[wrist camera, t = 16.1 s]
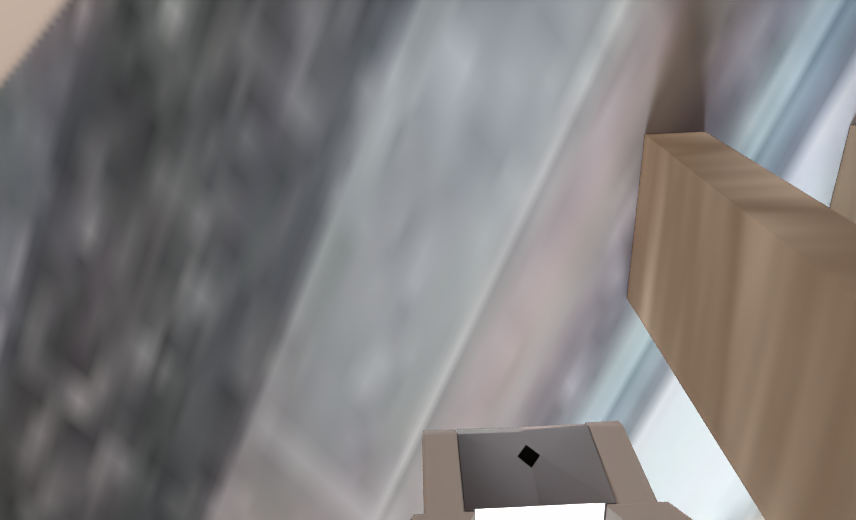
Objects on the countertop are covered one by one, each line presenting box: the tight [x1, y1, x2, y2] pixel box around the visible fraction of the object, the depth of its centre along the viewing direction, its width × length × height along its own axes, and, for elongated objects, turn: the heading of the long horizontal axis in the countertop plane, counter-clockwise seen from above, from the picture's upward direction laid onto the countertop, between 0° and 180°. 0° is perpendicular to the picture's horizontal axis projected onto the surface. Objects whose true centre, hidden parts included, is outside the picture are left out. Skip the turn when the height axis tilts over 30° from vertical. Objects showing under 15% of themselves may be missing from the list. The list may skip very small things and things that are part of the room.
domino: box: [627, 132, 856, 520], centre depth 13 cm, size 2×5×12 cm, turn 2°
